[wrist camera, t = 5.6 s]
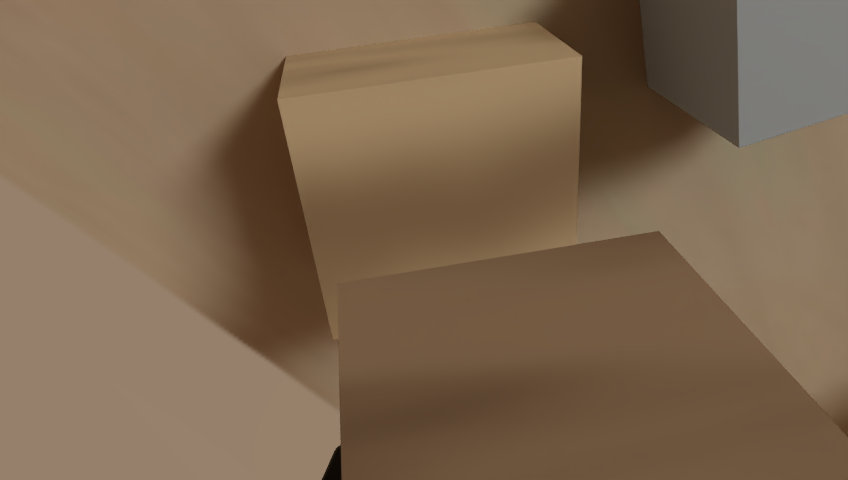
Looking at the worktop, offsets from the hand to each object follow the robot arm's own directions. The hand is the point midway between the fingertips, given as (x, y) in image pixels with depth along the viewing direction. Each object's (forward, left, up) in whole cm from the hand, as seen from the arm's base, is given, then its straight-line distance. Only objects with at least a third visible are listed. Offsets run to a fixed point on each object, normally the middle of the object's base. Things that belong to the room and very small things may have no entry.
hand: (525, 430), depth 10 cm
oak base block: (0, 0, -11) cm, 11 cm away
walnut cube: (0, 0, -1) cm, 1 cm away
